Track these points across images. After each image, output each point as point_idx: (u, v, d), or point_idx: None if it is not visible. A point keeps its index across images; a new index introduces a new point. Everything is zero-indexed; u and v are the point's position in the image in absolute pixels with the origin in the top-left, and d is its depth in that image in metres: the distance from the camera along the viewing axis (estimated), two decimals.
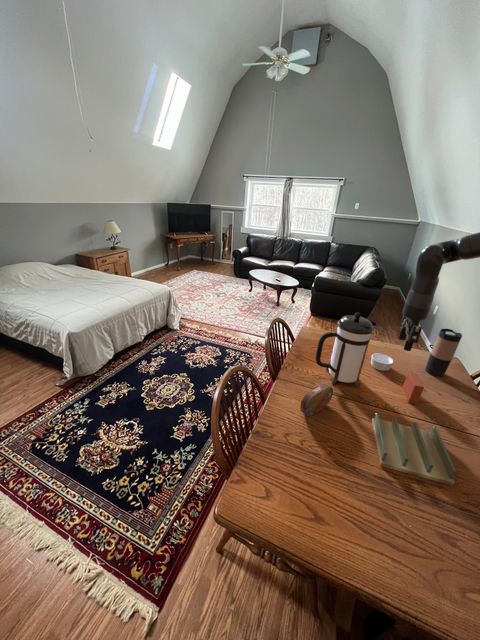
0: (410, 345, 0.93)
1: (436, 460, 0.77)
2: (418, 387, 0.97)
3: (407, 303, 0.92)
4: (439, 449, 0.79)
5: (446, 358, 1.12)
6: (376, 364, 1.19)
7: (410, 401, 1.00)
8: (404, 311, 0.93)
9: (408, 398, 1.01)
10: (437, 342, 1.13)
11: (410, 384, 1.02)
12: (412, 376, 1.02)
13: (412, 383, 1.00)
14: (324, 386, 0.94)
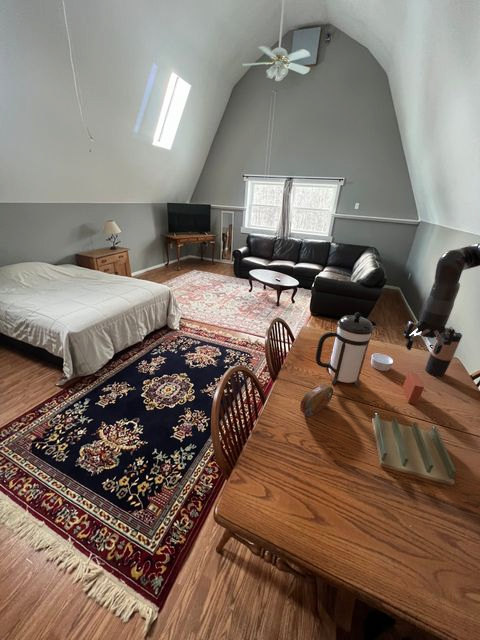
0: (407, 342, 0.97)
1: (436, 460, 0.77)
2: (418, 387, 0.97)
3: None
4: (439, 449, 0.79)
5: (446, 358, 1.12)
6: (376, 364, 1.19)
7: (410, 401, 1.00)
8: None
9: (408, 398, 1.01)
10: (437, 342, 1.13)
11: (410, 384, 1.02)
12: (412, 376, 1.02)
13: (412, 383, 1.00)
14: (324, 386, 0.94)
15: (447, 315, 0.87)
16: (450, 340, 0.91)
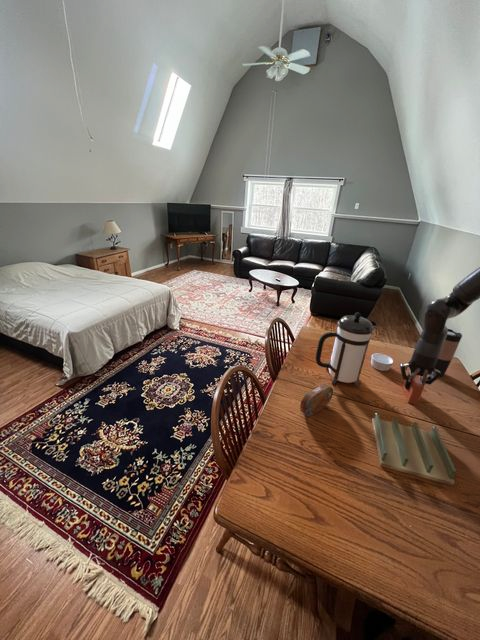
0: (406, 382, 1.02)
1: (436, 460, 0.77)
2: (418, 387, 0.97)
3: None
4: (439, 449, 0.79)
5: (446, 358, 1.12)
6: (376, 364, 1.19)
7: (410, 401, 1.00)
8: None
9: (408, 398, 1.01)
10: None
11: None
12: None
13: (412, 383, 1.00)
14: (324, 386, 0.94)
15: (436, 357, 0.93)
16: (432, 381, 0.98)
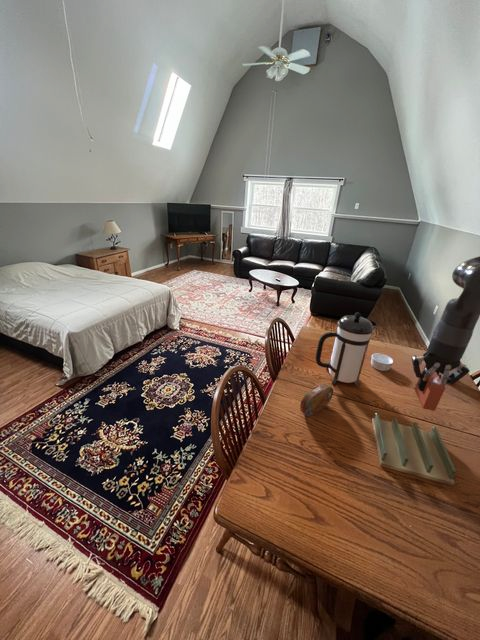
0: (419, 382, 0.76)
1: (436, 460, 0.77)
2: (438, 387, 0.71)
3: None
4: (439, 449, 0.79)
5: None
6: (376, 364, 1.19)
7: (425, 407, 0.74)
8: None
9: (423, 403, 0.75)
10: None
11: None
12: None
13: (428, 382, 0.74)
14: (324, 386, 0.94)
15: (463, 347, 0.67)
16: (456, 380, 0.72)
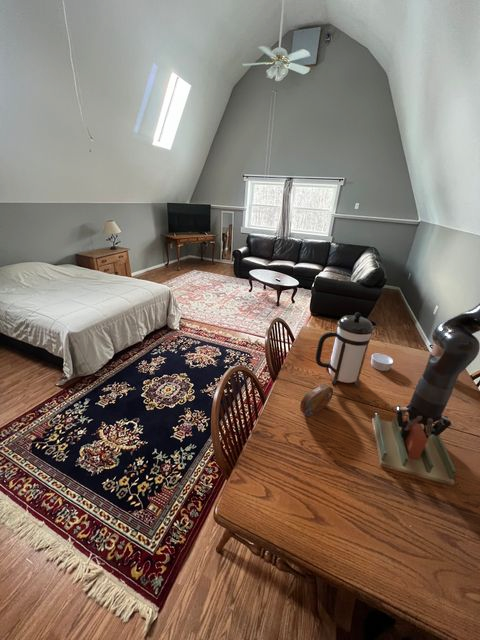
0: (402, 430, 0.79)
1: (436, 460, 0.77)
2: (420, 440, 0.74)
3: None
4: (439, 449, 0.79)
5: None
6: (376, 364, 1.19)
7: (409, 456, 0.77)
8: None
9: (407, 452, 0.78)
10: None
11: (409, 433, 0.78)
12: None
13: (412, 433, 0.76)
14: (324, 386, 0.94)
15: (444, 404, 0.69)
16: (440, 431, 0.75)
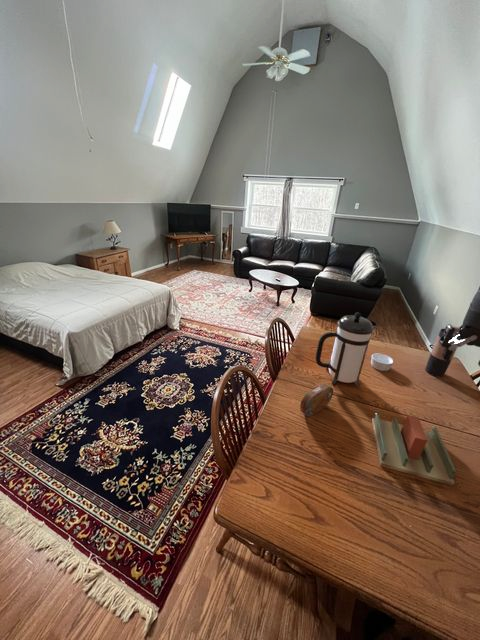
0: (445, 352, 0.75)
1: (436, 460, 0.77)
2: (420, 440, 0.74)
3: None
4: (439, 449, 0.79)
5: None
6: (376, 364, 1.19)
7: (409, 456, 0.77)
8: None
9: (407, 452, 0.78)
10: (437, 342, 1.13)
11: (409, 433, 0.78)
12: (412, 422, 0.79)
13: (412, 433, 0.76)
14: (324, 386, 0.94)
15: None
16: None
